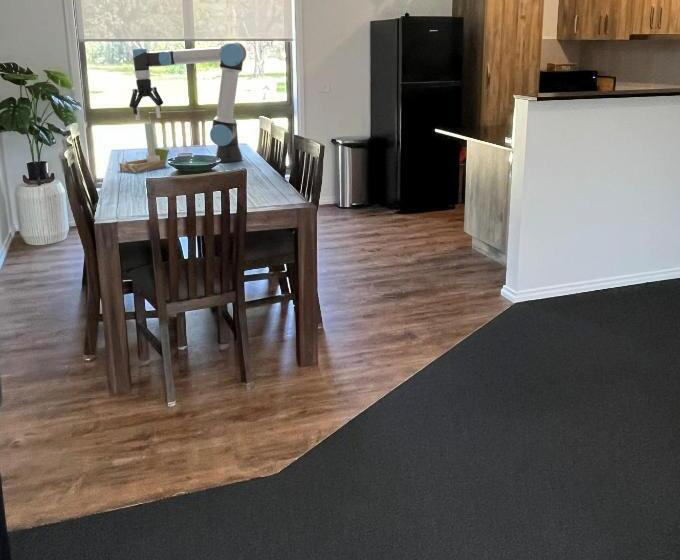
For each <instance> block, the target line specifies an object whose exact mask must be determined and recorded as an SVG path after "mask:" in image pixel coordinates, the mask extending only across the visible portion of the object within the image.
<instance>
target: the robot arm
mask: <svg viewBox="0 0 680 560" xmlns="http://www.w3.org/2000/svg"><path fill="white" fill-rule="evenodd" d="M246 58H247V50H246V48H245V47H244V45H243V44H242V43H240V42H236V41H235V42H234V41H229V42H226V43H225V44H221V45H220V46H219V47H204V48H202V47H201V48H190V49H189V48H188V49H175V50H160V51H158V50H157V51H148V49H147V48H145V47H143V48H133V49H132V61H133V67H134V73H135V75H134V76H135V79H136V80H135V81H136V87H137V88H133V89H132V94H131V98H130V102H129V108H131V109H132V110H133V115H134V116H135V121H137V122H141V118H140V110H139V108H138V107H139V105H140V103H141V101H142V99H143V98H145V97H148V98H150V99H151V100H152V101H153V102H154V104H155V113H156V118H158V119H162V115H161V114H162V113H161V111H162V108H161V106H162V105H163V104H164V101H163V99H162V97H161V95H160V94H159V92H158V89H157V87H156V86H152V80H151V73H150V67H167V66H175V65H188V64H189V65H190V64H191V65H192V64H205V63H219V68H220V69H221V70H222V71H221V78H220V85H219V94H218V101H217V109H216V110H217V111H216V115H215V117H214V118H213V119H212V126H211V128H210V132H209V136H210V137H209V138H210V140H211V142H213V144H214V145H216V146H217V150H216V154H215V158H216V157H218V158H220V159H221V162H220V163H234V162H240V161H243V154H242V153H241V148H240V147H239V137H238V127H237V126H238V124H237V120H236V119H234V111H235V102H236V94H237V88H238V87H237V86H238V81H239V79H238V78H239V74H240V73H241V72H242V70H243V65H244V62H245V61H246Z"/></svg>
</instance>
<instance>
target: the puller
mask: <svg viewBox="0 0 680 560" xmlns="http://www.w3.org/2000/svg"><path fill="white" fill-rule="evenodd" d="M153 127H154V126H153V123H152V122H145V123H144V129H145V138H146V145H147V154H146V159H147V163H148V162H154V161H160V156H158V155H156V152H155V148H156V145H155V144H156V143H155V135H154V129H153Z"/></svg>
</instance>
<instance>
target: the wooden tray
mask: <svg viewBox="0 0 680 560" xmlns="http://www.w3.org/2000/svg"><path fill="white" fill-rule="evenodd" d="M118 164H119V165H118V166H119V171H120V170H124V171H123V172H127V171H130V172H129V173H134V172H138V173H142V171H143V172H147V171H155V170H158V169H164V167H165V168H167V167H166V165H165V160H160V161H154V162H148V163H147V158H143V159H142V158H141V159H135V160H129V161H123V162H120V163H118Z"/></svg>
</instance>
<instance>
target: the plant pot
mask: <svg viewBox="0 0 680 560" xmlns="http://www.w3.org/2000/svg"><path fill="white" fill-rule="evenodd" d="M155 152H156V155H158V156H160V160H165V166H166V164H167V159H168V154H169V152H170V149H166V148H165V149H164V148H156V147H155Z"/></svg>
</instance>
